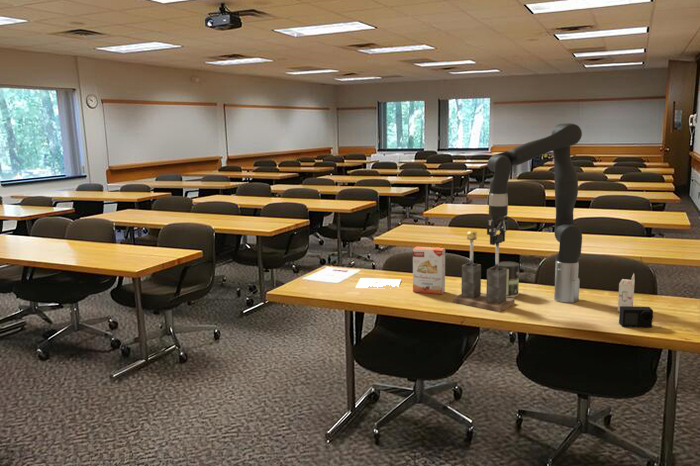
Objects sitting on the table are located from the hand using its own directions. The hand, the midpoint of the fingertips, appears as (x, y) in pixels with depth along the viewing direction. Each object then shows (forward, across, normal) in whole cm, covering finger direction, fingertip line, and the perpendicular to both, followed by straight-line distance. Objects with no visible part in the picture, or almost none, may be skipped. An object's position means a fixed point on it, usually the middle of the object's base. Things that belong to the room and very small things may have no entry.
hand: (497, 242), depth 235 cm
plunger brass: (+15, 0, +12) cm, 19 cm away
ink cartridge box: (+27, +26, -44) cm, 58 cm away
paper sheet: (+28, -8, +59) cm, 66 cm away
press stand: (+27, 0, +6) cm, 28 cm away
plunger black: (+15, 0, 0) cm, 15 cm away
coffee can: (+27, +18, +4) cm, 33 cm away
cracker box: (+27, 0, +34) cm, 44 cm away
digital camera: (+27, +8, -53) cm, 60 cm away
